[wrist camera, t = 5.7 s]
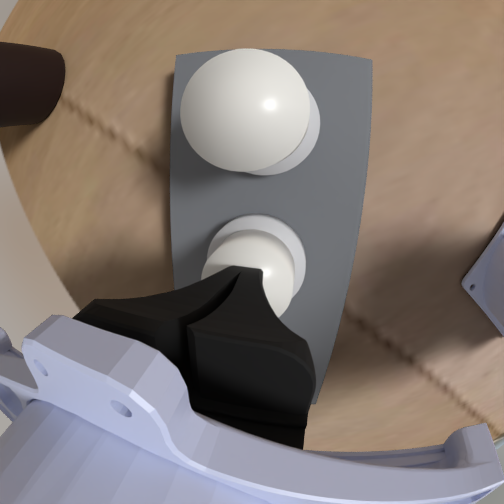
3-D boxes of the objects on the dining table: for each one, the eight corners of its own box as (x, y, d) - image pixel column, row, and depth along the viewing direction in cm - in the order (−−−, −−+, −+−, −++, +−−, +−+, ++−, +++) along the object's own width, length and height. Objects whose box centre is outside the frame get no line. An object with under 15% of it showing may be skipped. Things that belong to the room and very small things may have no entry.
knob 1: (305, 172, 10) (305, 176, 8) (200, 165, 10) (178, 169, 9) (311, 68, 8) (312, 50, 7) (205, 67, 9) (184, 53, 7)
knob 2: (290, 308, 14) (287, 331, 12) (214, 298, 15) (202, 318, 13) (299, 234, 13) (297, 248, 11) (215, 225, 13) (200, 237, 12)
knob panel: (316, 385, 20) (315, 414, 17) (193, 366, 22) (180, 391, 19) (364, 69, 12) (376, 53, 9) (190, 64, 14) (167, 50, 11)
